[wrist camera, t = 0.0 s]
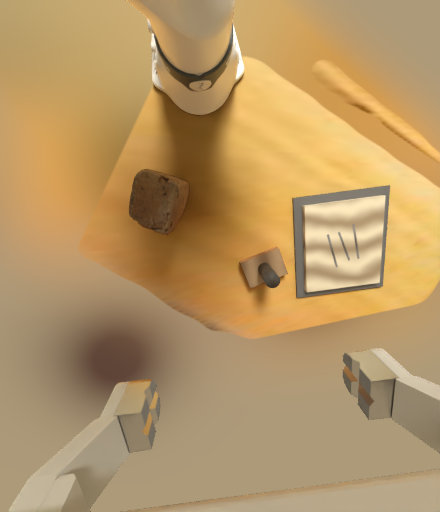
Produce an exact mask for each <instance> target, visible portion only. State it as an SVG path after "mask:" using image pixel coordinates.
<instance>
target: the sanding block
mask: <svg viewBox="0 0 440 512" xmlns="http://www.w3.org/2000/svg"><path fill="white" fill-rule="evenodd" d="M240 264H241V266H242V269H243V271H244V274H245V276H246V279H247V281H248V284H249V286H250V288H253V287H255V286H258V285H260V284H263V283H265V284H266V285H267V286H268V287H270V288H275V287H277V286H278V285H279V283H280V278H279V277H281V276H283V275H286V274H288V273H287V270H286V267H285V265H284V262H283V259H282V256H281V253H280V250H279V248H278V247H274V248H271V249H269V250H267V251H264V252H262V253H259V254H257V255H254V256H252V257H249V258H247V259H244V260H242V261H240Z"/></svg>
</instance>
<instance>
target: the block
mask: <svg viewBox="0 0 440 512" xmlns="http://www.w3.org/2000/svg"><path fill="white" fill-rule="evenodd" d="M189 190H190V189H189V184H188V183H187V181H185V180H183V179H180V178H177V177H174V176H171V175H167V174H164V173H160V172H157V171H153V170H148V169H144V170H141V171H140V172H138V173H137V175H136V176H135V178H134V182H133V185H132V193H131V197H130V205H129V214H130V216H131V217H132V218H133V219H134V220H136V221H137V222H138V223H139V224H140V225H141V226H142V227H145V228H148V229H152V230H154V231H156V232H158V233H161V234H167V235H168V234H169V233H171V232H172V231H173V230H174V229H175V227H176V225H177V224H178V222H179V220H180V218H181V216H182V214H183V212H184V209H185V207H186V204H187V200H188V196H189Z"/></svg>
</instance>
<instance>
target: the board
mask: <svg viewBox="0 0 440 512" xmlns="http://www.w3.org/2000/svg"><path fill="white" fill-rule="evenodd" d="M385 197H386V195H380V196H372V197H365V198H357V199H350V200H342V201H334V202H327V203H319V204H312V205H304V206H302V218H303V253H304V289H305V291H306V292H314V291H322V290H329V289H337V288H344V287H352V286H359V285H367V284H374V283H380V270H381V256H382V241H383V226H384V212H385Z"/></svg>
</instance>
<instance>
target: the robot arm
mask: <svg viewBox="0 0 440 512" xmlns="http://www.w3.org/2000/svg"><path fill="white" fill-rule="evenodd" d="M126 1H127V2H129V3H130V4H131V5H133V6H134V7H135V8H136V9H138V10H139V11H140V12H141V13H142V14H144V15H145V16H146V17H147V19H148V27H149V32H150V33H151V34H152V42H151V50H152V81H153V84H154V86H155V87H156V88H158V89H159V90H161V91H163V92H165V93H166V94H167V95H168V96H169V97H170V98H171V99H172V101H173V102H174V103H175V104H176V105H177V106H178V107H179V108H181V109H182V110H184V111H186V112H188V113H191V114H195V115H204V114H209V113H211V112H213V111H215V110H217V109H218V108H219V107H221V106H222V105H223V104H224V102H225V101H226V100H227V98H228V96H229V94H230V92H231V90H232V87H233V86H234V84H235V83H236V82H237V81H238V80H239V79H240V78H241V77H242V76H243V74H244V64H243V60H242V56H241V53H240V48H239V45H238V41H237V37H236V33H235V29H234V25H233V13H234V4H235V0H126ZM238 63H239V64H238ZM157 73H158V75H157ZM343 362H344V363H345V365H346V366H345V368H344V369H343V379H344V383H345V385H346V387H347V389H348V391H349V392H350V394H351V395H353V396H355V397H356V398H358V405H359V407H360V408H361V410H362V411H363V413H364V414H365V415H366V417H367V418H368V420H375V419H384V418H392V420H394V421H395V422H396V423H398V424H399V425H401V426H402V427H403V428H405V429H406V430H408V431H409V432H411V433H412V434H413V435H415V436H416V437H418V438H419V439H420V440H422V441H423V442H425V443H426V444H427V445H429V446H430V447H432V448H433V449H434V450H436V451H437V452H439V453H440V386H439V385H436V384H434V383H432V382H430V381H427V380H425V379H423V378H420V377H418V376H414V377H413V376H412V375H411V374H410V373H409V372H408V371H406V370H405V369H404V368H403V367H402V366H401V365H400V364H399V363H398V362H397V361H396V360H394V359H393V358H392V357H391V356H390V355H389V354H388V353H387V352H386V351H385V350H383V349H381V348H377V349H369V350H365V351H357V352H350V353H345V354H344V355H343ZM155 390H156V383H155V380H154V379H147V380H138V381H130V382H121V383H118V384H117V385H116V386H115V388H114V390H113V392H112V394H111V396H110V398H109V400H108V402H107V404H106V406H105V408H104V410H103V412H102V414H101V416H100V418H99V419H95V420H94V421H93V422H92V423H91V424H89V425H88V426H87V427H86V428H85V429H84V430H83V431H82V432H80V433H79V434H78V435H77V436H76V437H75V438H74V439H73V440H71V441H70V442H69V443H68V444H67V445H66V446H65V447H64V448H62V449H61V450H60V451H59V452H58V453H57V454H56V455H55V456H54V457H52V458H51V459H50V460H49V461H48V462H47V463H46V464H44V465H43V466H42V467H41V468H40V469H39V470H38V471H37V472H35V473H34V474H33V475H32V476H31V477H30V478H29V479H28V481H27V482H26V484H25V485H24V487H23V489H22V490H21V492H20V493H19V495H18V496H17V498H16V499H15V501H14V503H13V504H12V506H11V507H10V509H9V511H8V512H91V511H90V508H91V506H92V505H93V504H94V502H95V501H96V500H97V498H98V497H99V496H100V494H101V493H102V491H103V490H104V489H105V487H106V486H107V485H108V483H109V482H110V480H111V479H112V478H113V476H114V475H115V474H116V472H117V471H118V469H119V468H120V466H121V465H122V464H123V462H124V461H125V460H126V458H127V457H128V456H129V453H132V452H138V451H144V450H149V449H152V445H153V441H154V437H155V432H156V431H155V427H154V425H155V423H156V422H157V421H158V419H159V414H160V398H159V394H157V393H156V392H155ZM122 512H440V469H434V470H426V471H419V472H411V473H404V474H396V475H389V476H382V477H374V478H367V479H360V480H352V481H346V482H338V483H331V484H323V485H316V486H308V487H301V488H294V489H286V490H278V491H272V492H264V493H256V494H248V495H241V496H233V497H226V498H219V499H211V500H204V501H196V502H189V503H181V504H174V505H166V506H159V507H151V508H144V509H137V510H129V511H122Z"/></svg>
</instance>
